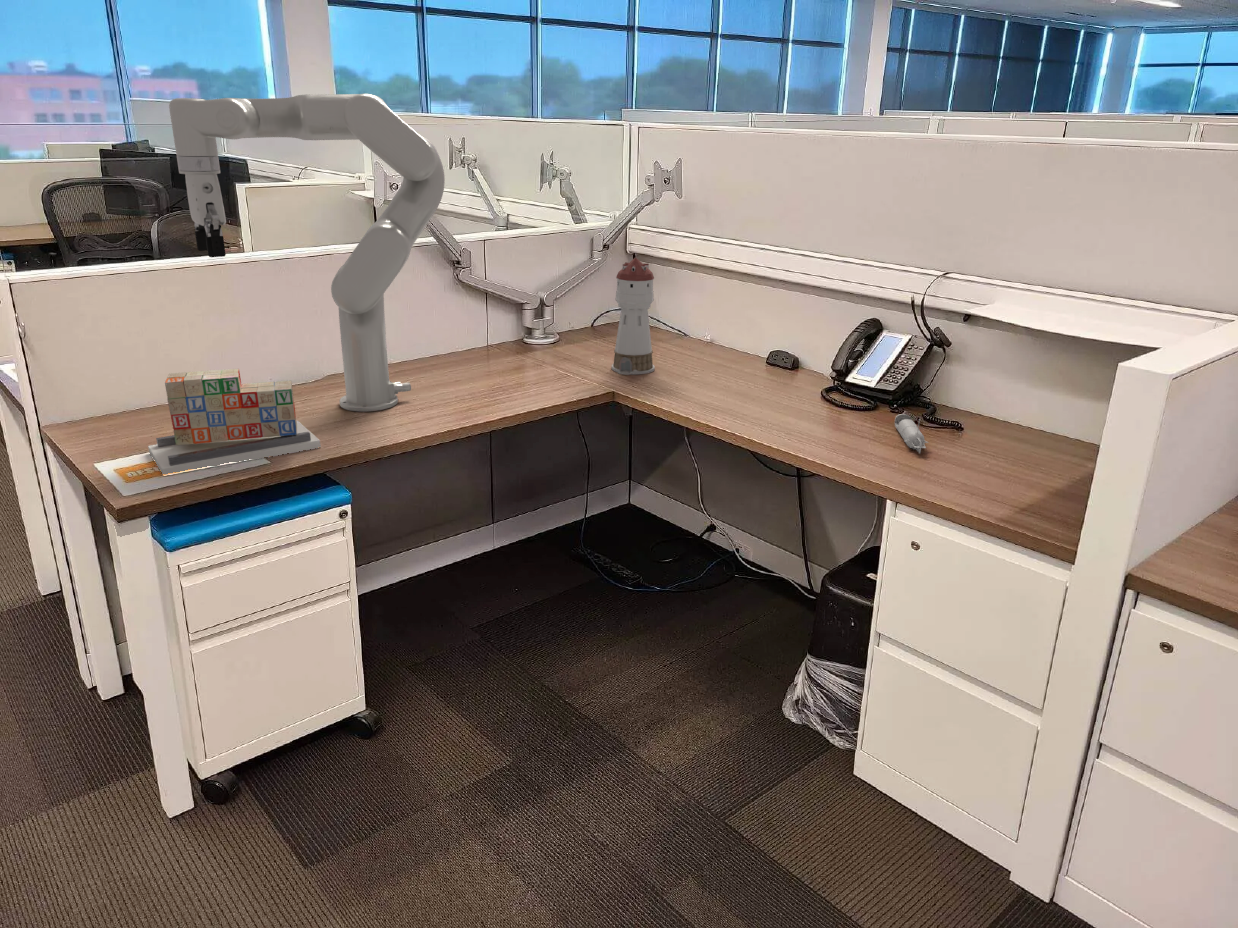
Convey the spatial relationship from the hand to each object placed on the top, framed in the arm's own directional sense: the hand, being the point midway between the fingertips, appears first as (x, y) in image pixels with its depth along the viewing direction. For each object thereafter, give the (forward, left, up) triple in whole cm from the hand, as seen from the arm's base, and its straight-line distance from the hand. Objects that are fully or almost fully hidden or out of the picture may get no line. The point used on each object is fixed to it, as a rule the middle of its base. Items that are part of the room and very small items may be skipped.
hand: (211, 253), depth 183 cm
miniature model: (-94, +19, -34) cm, 102 cm away
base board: (+6, +27, -33) cm, 43 cm away
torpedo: (-111, +93, -34) cm, 149 cm away
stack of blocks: (+5, +27, -31) cm, 41 cm away
